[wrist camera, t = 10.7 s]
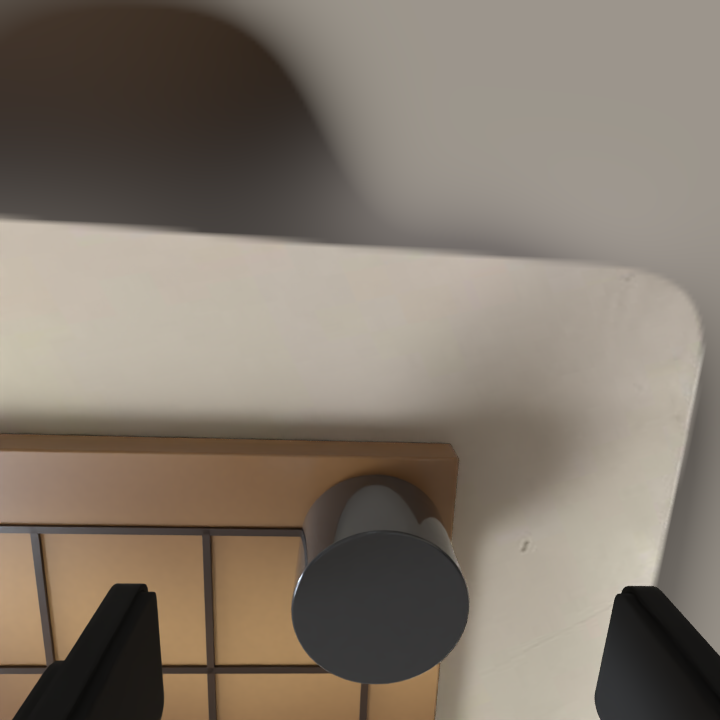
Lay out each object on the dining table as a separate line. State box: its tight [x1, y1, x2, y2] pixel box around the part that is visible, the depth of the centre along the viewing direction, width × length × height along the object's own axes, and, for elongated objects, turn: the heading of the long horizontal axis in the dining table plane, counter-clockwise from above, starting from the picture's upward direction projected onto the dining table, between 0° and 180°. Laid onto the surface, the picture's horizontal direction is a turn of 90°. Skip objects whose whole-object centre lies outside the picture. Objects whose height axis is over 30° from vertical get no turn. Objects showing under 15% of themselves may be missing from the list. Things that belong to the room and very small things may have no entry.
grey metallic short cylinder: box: [291, 475, 469, 685], centre depth 13 cm, size 4×4×3 cm
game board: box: [0, 434, 459, 720], centre depth 17 cm, size 20×20×1 cm
